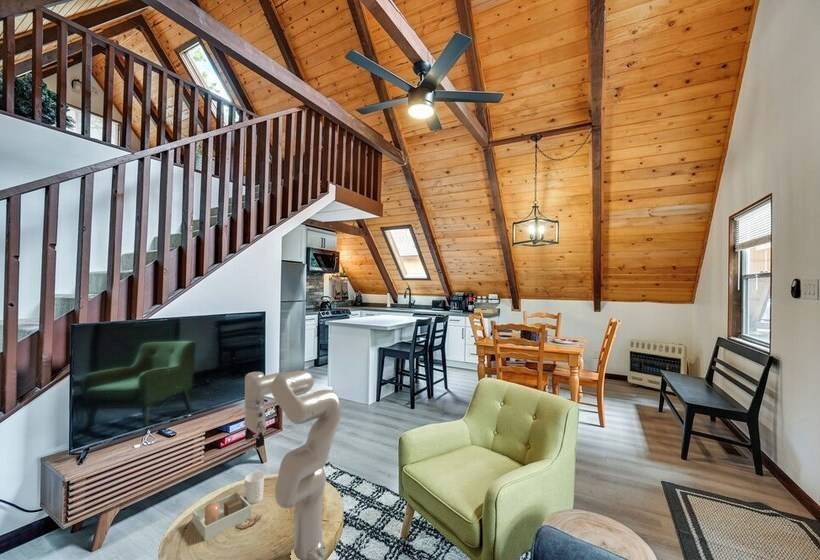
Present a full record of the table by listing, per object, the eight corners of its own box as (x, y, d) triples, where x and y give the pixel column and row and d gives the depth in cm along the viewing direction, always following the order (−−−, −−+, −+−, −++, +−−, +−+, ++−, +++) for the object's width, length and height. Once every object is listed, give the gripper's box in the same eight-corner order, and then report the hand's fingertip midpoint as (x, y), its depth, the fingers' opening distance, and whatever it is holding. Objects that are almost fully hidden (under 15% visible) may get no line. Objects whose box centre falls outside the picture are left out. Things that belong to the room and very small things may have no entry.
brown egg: (207, 530, 139) (207, 512, 139) (202, 524, 142) (202, 506, 142) (221, 523, 143) (221, 506, 143) (215, 518, 146) (216, 500, 146)
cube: (241, 514, 148) (241, 502, 148) (228, 520, 145) (228, 508, 145) (236, 508, 152) (236, 496, 152) (223, 514, 148) (223, 502, 148)
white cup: (255, 506, 154) (255, 483, 154) (240, 502, 157) (240, 479, 156) (268, 495, 162) (268, 473, 161) (253, 491, 164) (254, 470, 164)
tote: (250, 517, 147) (251, 505, 147) (204, 540, 135) (205, 527, 134) (237, 503, 156) (237, 491, 156) (192, 523, 143) (192, 511, 143)
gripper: (273, 405, 149) (273, 446, 149) (254, 395, 160) (253, 433, 161) (255, 410, 143) (255, 453, 144) (236, 399, 155) (236, 438, 155)
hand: (254, 442), depth 152 cm, fingers open, 9 cm apart
